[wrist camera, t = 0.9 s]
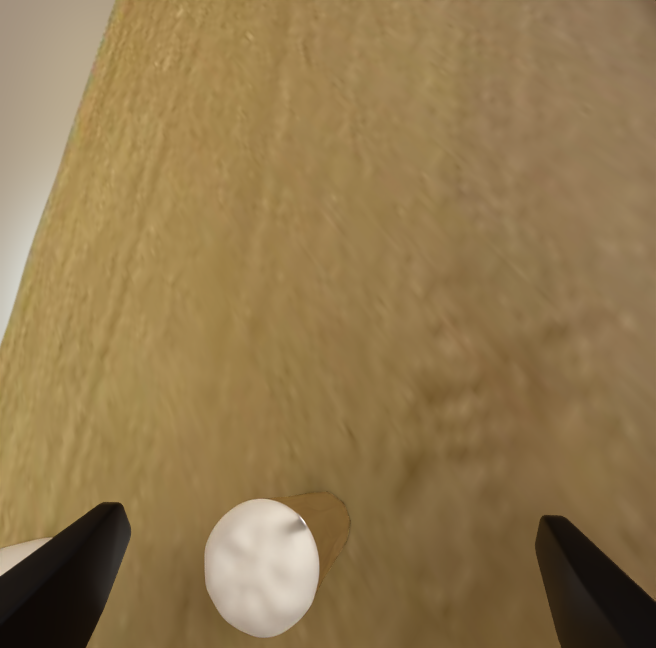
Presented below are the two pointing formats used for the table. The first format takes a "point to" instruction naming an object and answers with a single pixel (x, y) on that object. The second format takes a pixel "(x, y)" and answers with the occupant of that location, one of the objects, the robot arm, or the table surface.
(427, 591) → the table surface
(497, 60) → the table surface
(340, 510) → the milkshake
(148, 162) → the table surface
